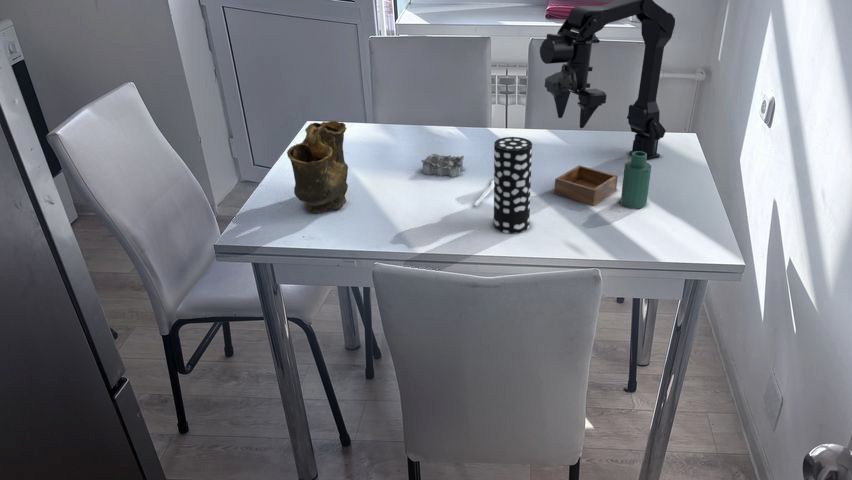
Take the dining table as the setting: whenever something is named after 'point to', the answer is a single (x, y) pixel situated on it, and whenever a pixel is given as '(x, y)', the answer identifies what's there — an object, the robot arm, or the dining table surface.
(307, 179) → the pottery vessel
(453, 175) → the egg carton
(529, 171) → the spotted tube
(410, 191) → the dining table surface
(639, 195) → the bottle
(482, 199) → the fork
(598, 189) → the crate
